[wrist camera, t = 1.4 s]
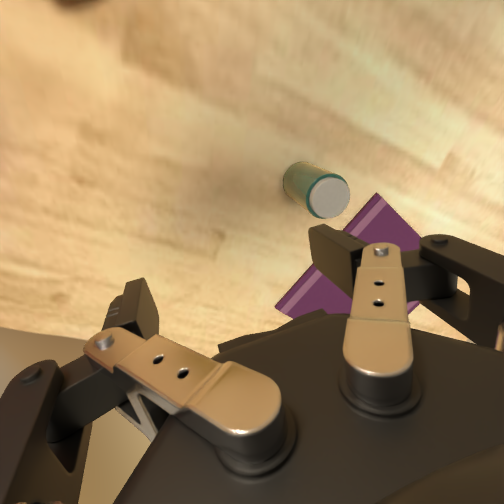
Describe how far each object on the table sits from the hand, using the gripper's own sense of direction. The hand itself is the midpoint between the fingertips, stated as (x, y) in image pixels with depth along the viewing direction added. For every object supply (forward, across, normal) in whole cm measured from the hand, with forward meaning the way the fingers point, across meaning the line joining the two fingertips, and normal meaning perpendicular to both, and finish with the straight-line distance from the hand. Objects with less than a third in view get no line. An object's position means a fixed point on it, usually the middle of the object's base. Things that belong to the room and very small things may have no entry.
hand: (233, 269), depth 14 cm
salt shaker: (+20, -12, +2) cm, 24 cm away
